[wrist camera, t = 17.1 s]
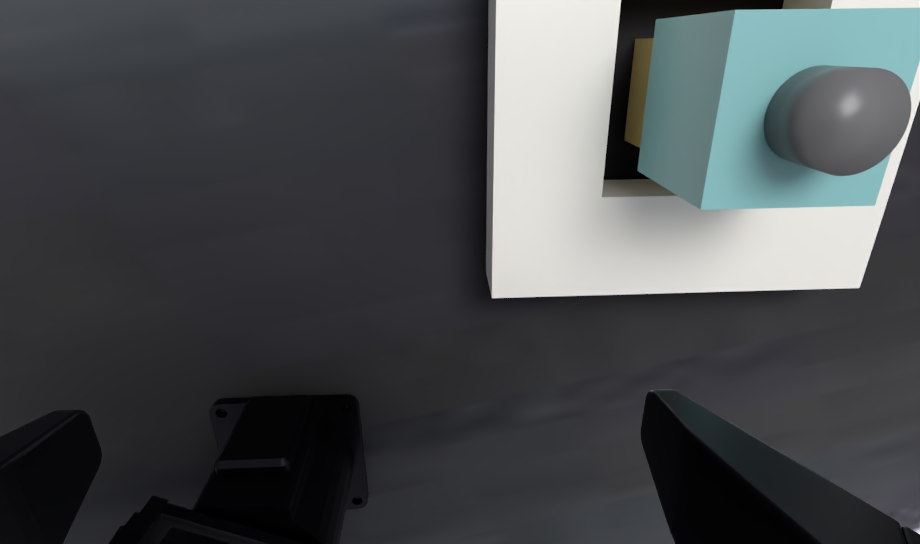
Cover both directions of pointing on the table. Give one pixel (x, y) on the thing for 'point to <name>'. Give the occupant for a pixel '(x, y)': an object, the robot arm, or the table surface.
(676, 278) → the socket plate
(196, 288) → the table surface
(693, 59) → the plug
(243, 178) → the table surface
